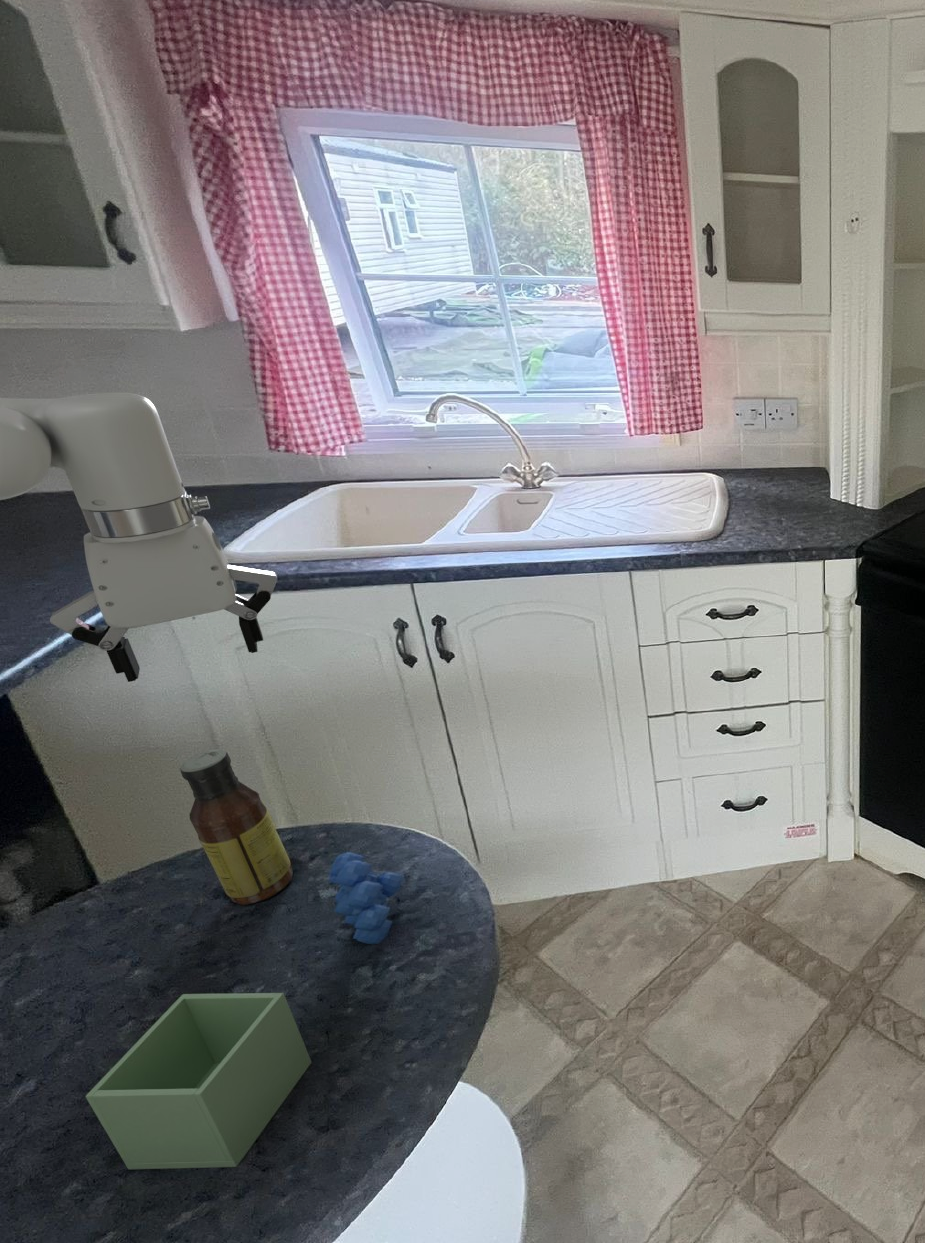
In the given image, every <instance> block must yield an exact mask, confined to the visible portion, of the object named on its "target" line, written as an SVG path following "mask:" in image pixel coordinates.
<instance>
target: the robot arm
mask: <svg viewBox="0 0 925 1243" xmlns="http://www.w3.org/2000/svg"><path fill="white" fill-rule="evenodd" d="M53 468H60V469H61V470H63V471H64V472H65V474H66V476H67V479H68V482H69V483H70V486H71V489H72V491H73V493H74V495H75V498H76V501H77V504H78V505H79V507H80V511H81V512H82V515H83V517H84V520H85V522H86V525H87V527H88V529H89V532H87V533H86V534H84V535H83V547H84V556H85V561H86V566H87V570H88V576H89V580H90V582H91V586H92V590H90V591H89V592H87V593H85V594H83V595H82V596H80V597H78V598H77V599H75V600H73V601H71V602H70V603H67V604H66V605H64V606H63V607H61V608H59V609H57V610H55V611H53V613H52V614H51V616H50V618H49V622H50V624H52V625H53V626H55V627H56V628H58V629H60V630H61V631H63V632H65V633H67V634H68V635H70V636H71V637H72V638H73V639H74V640H76V641H80V642H82V643H86V644H89V645H92V646H96V647H98V648H99V649H100V650H101V651H106V653H107V656H108V658H109V661H110V663H111V665H112V667H113V670H114V672H115V674H117V675H118V674H124V676H125V678H126V681H127V682H128V683H131V682H134V681H136V680H138V679H139V675H140V670H141V668H140V664H139V663H138V662H139V661H138V660H137V658H136V655H135V653H134V651H133V650H134V649H133V648H132V645H131V642H130V641H129V638H126V637H125V635H126V633H127V632H128V630H129V629H136V628H141V627H147V626H151V625H156V624H157V625H158V624H161V623H162V624H163V623H167V622H172V621H176V620H182V619H186V618H191V617H196V616H201V615H206V614H210V613H215V612H220V611H222V610H225V611H226V612H228V613H231V614H233V615H235V616H238V625H239V628H240V632H241V634H242V638H243V640H244V643H245V645H246V648H247V652H248V653H251V654H254V653H258V651H259V650H258V643H259V642H261V641H264V636H263V632H262V630H261V626H260V623H259V620H258V614H260V612H261V611H262V610H263V609H264V607H265V606H266V605H267V604H268V603H269V601H271V598H272V595H273V592H274V589H275V587H276V585H277V581H278V575H277V573H276V572H274V571H269V570H262V569H256V568H250V567H245V566H237V565H231V564H230V562H229V561H228V558H227V556H226V554H225V552H224V549H223V547H222V545H221V542H220V541H219V539H218V536H217V535H216V533H215V532H214V531H215V530H213V528H212V526H211V524H210V523H209V522H208V520H207V519H206V518H205V517H204V516H202V515H197V514H198V512H199V513H200V512H202V510H203V511H204V510H210V509H211V505H210V502H209V499H208V497H207V496H199V497H198V496H192V494H188V493H187V490H186V489H185V486H184V483H183V481H182V478H181V475H180V472H179V470H178V467H177V463H176V460H175V458H174V455H173V452H172V450H171V446H170V444H169V442H168V438H167V435H166V432H165V429H164V427H163V423H162V421H161V418H160V415H159V412H158V410H157V408H156V406H155V404H154V403H153V402H152V401H151V400H150V399H149V398H147V397H145V396H144V395H141V394H138V393H132V392H123V391H122V392H121V391H120V392H119V391H116V392H115V391H114V392H113V391H111V392H110V391H109V392H93V393H82V394H75V395H69V396H63V397H60V398H58V397H57V398H55V397H54V398H27V397H26V398H25V397H24V398H23V397H22V398H21V397H0V501H2V500H8V499H12V498H15V497H18V496H21V495H24V494H25V493H27V492H29V491H32V490H33V489H35V488H36V487H37V486H39V485H41V483H42V482H43V481H44V480H45V478H46V477H47V475H48V473H49V471H50V469H53ZM236 581H239V582H245V583H252V584H257V585H258V587H257V590H256V591H255V592H254V594H252V596H251V597H250V598H249V599H248V598H246V597H243V596H242V595H239V594H237V593H236V592H237V591H238V587H237V582H236ZM96 607H99V611H100V614H101V615H102V618H103V619H104V621H105V623H106V624H107V625H106V627H105V628H102V627H99V626H96V625H93V624H90V623H87V622H86V623H85V622H83V620H81V619H80V618H79V617H81V616H82V615H84V614H86V613H87V612H89V611H91V610H92V609H94V608H96Z"/></svg>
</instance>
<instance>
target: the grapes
mask: <svg viewBox="0 0 925 1243" xmlns="http://www.w3.org/2000/svg"><path fill="white" fill-rule="evenodd" d="M364 859H365V856H364V855H361V854H359V853H354V852H351V851H347V852H343V853H340V854H339V855H337V857H336V858H335V859H334V861H333V862H332V864H331V866H330V868H329V871H328V875H329V879H328V882H329V883H332V884H336V885H340V887H339V889H338V890H337V892H336V895H335V897H334V901H336V902H337V903H336V906H335V908H334V910H333V913H335V914H338V915H341V916H345V919H344V921H343V923H344V924H348V925H352V926H354V927H353V928H355V929H356V930H355V932H354V934H353V937H352V940H353V939H354V940H356V941H357V942H360V943H363V944H367V945H377V944H380V943H382V942H383V941H384V939H385V938H386V937H387V935H388V933H389V932H390V929H391V927H392V924H393V920H390V919H387V917H388V915H389V913H390V911H391V906H390V907H389V906H388V904H389V901H387V898H390V897H393V896H395V894H396V893H397V892H398V891H399V889H400V887H401V885H402V882H403V880H404V878H405V875H403V874H400V873H396V872H392V871H387V872H386V871H385V872H383V873H380V874H379V875H377V874H376V872H375V871H372V870H371V867H372V863H369V862H366V861H364Z"/></svg>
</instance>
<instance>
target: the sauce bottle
mask: <svg viewBox="0 0 925 1243" xmlns="http://www.w3.org/2000/svg"><path fill="white" fill-rule="evenodd" d="M231 762H232V759H231V756H230V755H229V754H228V752H227V750H226V749H221V748H215V749H207V750H204V751H200V752H198V753H196V754H194V755H192V756H190V757H188V758H187V759H186V760H184V761H183V762H182V763H181V764H180V766H179V771H180V774H181V776H182V778H183V779H184V780H186V781H187V782H188V785H189V787H190V790H191V791H192V795H193V798H194V801H193V804H192V806H191V809H190V812H189V820H190V822H191V824H192V826H193V829H194V830H195V832H196V834H197V837H198V838H197V839H198V841H199V843H200V845H201V846H202V848H203V851H204V852H205V854H206V856H207V858H208V860H209V862H210V865H211V867H212V869H213V870H214V872H215V875H216V876H217V878H218V880H219V883H220V884H221V887H222V889H223V891H224V893H225V895H227V896H228V897H229V899H230V900H231V901H232V902H234V903H236V904H237V905H240V906H241V905H242V906H248V905H252V904H256V903H259V902H262V901H264V900H268V899H269V898H271V897H273V896H275V895H277V894H278V893H280V892H282V890H284V889H285V888H286V887H287V886H288V884H289V883H290V882H291V881H292V878H293V873H294V872H293V867H292V864H291V860H290V857H289V855H288V853H287V851H286V849H285V846H284V843H283V842H282V840H281V838H280V836H279V833H278V831H277V829H276V826H275V824H274V822H273V820H272V818H271V815H270V814H269V811H268V808H267V807H266V805H265V804H264V803H263V802H262V800H261V797H260V793H259V792H257V790H254V789H252V788H251V787H249V786H248V785H246V784H244V783H243V782H241V781H239V778H238V776H237V775H236V773H235V771H234V770H233V768H232V765H231Z"/></svg>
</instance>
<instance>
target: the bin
mask: <svg viewBox="0 0 925 1243" xmlns="http://www.w3.org/2000/svg"><path fill="white" fill-rule="evenodd" d="M302 1037H303V1036H302V1035H301V1033H300V1030H299V1028H298V1025H297V1023H296V1020H295V1018H294V1015H293V1013H292V1010H291V1008H290V1005H289V1003H288V1001H287V998H286V995H285V994H284V992H251V993H250V992H247V993H243V992H242V993H241V992H240V993H237V992H235V993H183V994H181V995H180V997H178V998H177V1000H175V1001H174V1002H173V1004H172V1005H171V1006H170V1007H169V1008H168V1009H167V1010H166V1011H165V1012H164V1013H163V1014H162V1015H161V1016H160V1017H159V1018H158V1020H156V1022H155V1023H154V1024H152V1026H151V1027H150V1028H148V1030H147V1031H146V1032H145V1033H144V1034H143V1035H142V1036H141V1037H140V1038H139V1039H138V1040H137V1041H136V1042H135V1044H134V1045H133V1046H132V1047H131V1048H130V1049H129V1050H128V1051H127V1052H126V1053H125V1054H124V1055H123V1056H122V1057H121V1058H120V1059H119V1060H118V1061H117V1062H116V1063H115V1064H114V1066H113V1067H112V1068H111V1069H109V1071H107V1073H106V1074H105V1075H104V1076H103V1077H102V1078H101V1079H100V1080H99V1081H98V1082H97V1083H96V1084H95V1085H94V1086H93V1087H92V1089H91V1090H89V1092H88V1093H86V1095H85V1096H84V1097H85V1099H86V1100H87V1102H88V1104H89V1106H90V1108H91V1109H92V1111H93V1112H94V1114H95V1116H96V1118H97V1119H98V1120H99V1122H100V1124H101V1126H102V1127H103V1130H104V1131H105V1132H106V1134H107V1136H108V1138H109V1139H110V1140H111V1142H112V1144H113V1146H114V1148H115V1149H116V1151H117V1153H118V1154H119V1156H120V1158H121V1160H122V1162H123V1163H124V1164H125V1167H126V1168H127V1170H163V1169H164V1170H166V1169H168V1170H169V1169H200V1168H201V1169H206V1168H207V1169H209V1168H237V1167H238V1166H239V1164H240V1163H241V1162H242V1160H243V1159H244V1158H245V1156H246V1154H247V1153H248V1152H249V1150H250V1149H251V1148H252V1146H253V1145H254V1144H255V1142H256V1141H257V1139H258V1138H259V1137H260V1136H261V1134H262V1133H263V1131H264V1130H265V1129H266V1127H267V1125H269V1122H270V1121H271V1120H272V1118H273V1117H274V1115H275V1114H276V1113H277V1112H278V1110H279V1108H280V1107H281V1106H282V1104H283V1103H284V1102H285V1100H286V1099H287V1098H288V1097H289V1095H290V1093H291V1092H292V1091H293V1089H294V1088H295V1086H296V1085H297V1084H298V1082H299V1080H301V1078H302V1076H303V1075H304V1074H305V1072H306V1071H307V1070H308V1069H309V1067H310V1066H311V1064H312V1059H311V1057H310V1054H309V1052H308V1049H307V1047H306V1045H305V1042H304V1040H303V1038H302Z"/></svg>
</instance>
